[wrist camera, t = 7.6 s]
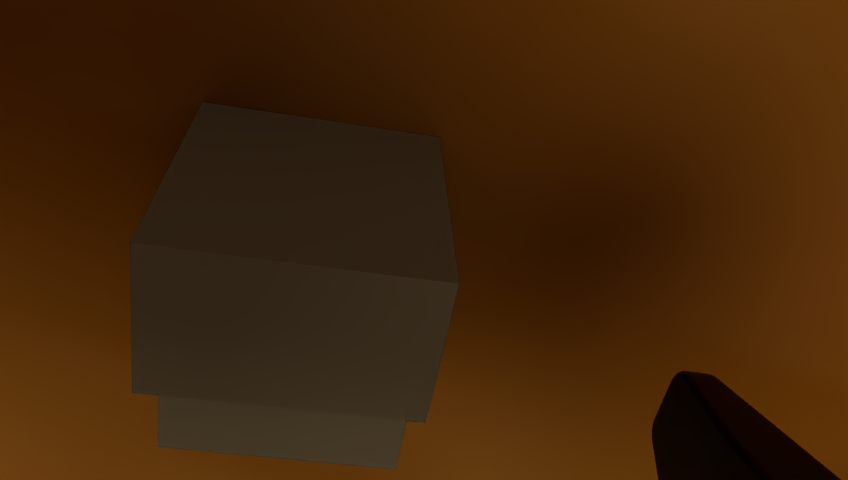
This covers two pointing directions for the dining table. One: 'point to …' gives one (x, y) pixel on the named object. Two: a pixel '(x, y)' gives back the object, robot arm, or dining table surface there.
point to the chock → (293, 287)
